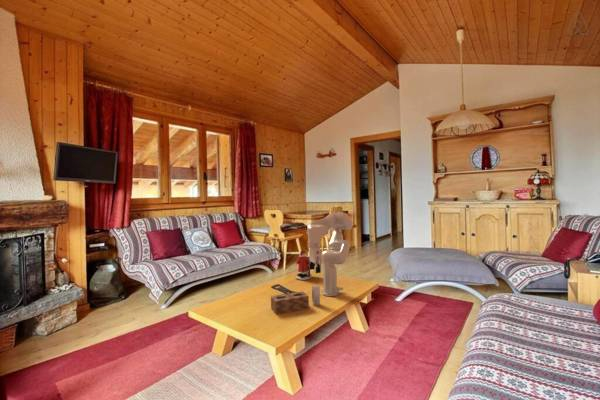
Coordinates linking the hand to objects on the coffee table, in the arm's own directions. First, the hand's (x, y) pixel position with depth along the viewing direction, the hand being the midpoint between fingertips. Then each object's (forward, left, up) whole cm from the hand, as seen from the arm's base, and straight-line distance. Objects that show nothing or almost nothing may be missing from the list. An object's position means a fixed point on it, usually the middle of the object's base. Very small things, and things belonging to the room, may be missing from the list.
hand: (315, 271), depth 199 cm
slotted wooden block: (+18, -1, -22) cm, 29 cm away
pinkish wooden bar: (0, 0, -22) cm, 22 cm away
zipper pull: (+13, -21, -22) cm, 34 cm away
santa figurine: (-16, -61, -22) cm, 67 cm away
